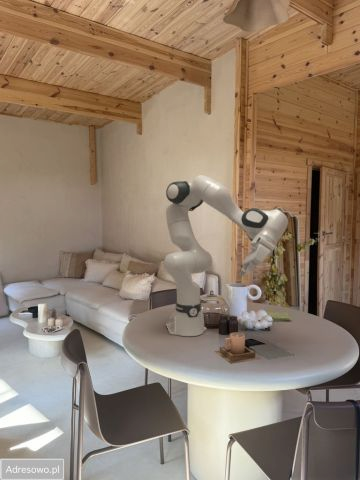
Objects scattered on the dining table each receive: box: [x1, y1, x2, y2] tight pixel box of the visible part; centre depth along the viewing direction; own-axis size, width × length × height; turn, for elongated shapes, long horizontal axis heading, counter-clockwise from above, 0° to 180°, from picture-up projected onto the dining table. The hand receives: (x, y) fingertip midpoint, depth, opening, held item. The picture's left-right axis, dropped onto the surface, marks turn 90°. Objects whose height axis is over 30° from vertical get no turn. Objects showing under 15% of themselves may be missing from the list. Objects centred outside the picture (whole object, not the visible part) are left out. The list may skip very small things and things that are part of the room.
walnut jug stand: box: [214, 346, 261, 365], centre depth 143 cm, size 13×13×4 cm
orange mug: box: [224, 331, 246, 355], centre depth 142 cm, size 6×8×8 cm
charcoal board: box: [249, 342, 295, 360], centre depth 147 cm, size 14×12×2 cm
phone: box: [259, 326, 271, 332], centre depth 185 cm, size 8×1×15 cm
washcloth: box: [265, 310, 292, 322], centre depth 199 cm, size 13×18×3 cm
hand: (243, 274), depth 145 cm, fingers open, 8 cm apart
